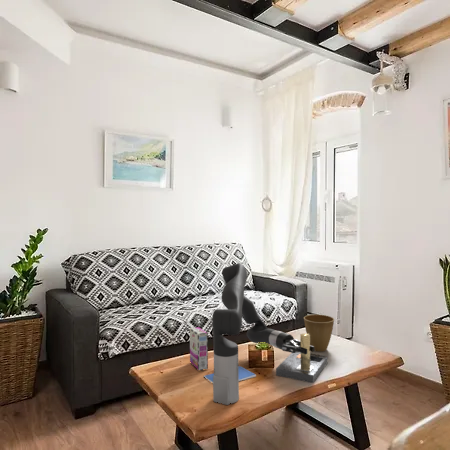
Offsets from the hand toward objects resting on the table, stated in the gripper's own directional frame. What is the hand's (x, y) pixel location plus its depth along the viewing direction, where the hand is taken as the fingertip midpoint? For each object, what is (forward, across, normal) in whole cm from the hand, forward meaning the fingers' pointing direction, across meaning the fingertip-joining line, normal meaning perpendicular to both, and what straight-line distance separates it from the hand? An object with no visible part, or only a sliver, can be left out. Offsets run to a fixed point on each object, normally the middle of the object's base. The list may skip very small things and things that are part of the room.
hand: (310, 350), depth 160 cm
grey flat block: (-8, +4, +11) cm, 14 cm away
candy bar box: (-39, -30, +11) cm, 51 cm away
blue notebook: (-21, -26, +12) cm, 36 cm away
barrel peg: (-3, 0, +8) cm, 8 cm away
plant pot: (-20, +30, +11) cm, 37 cm away
